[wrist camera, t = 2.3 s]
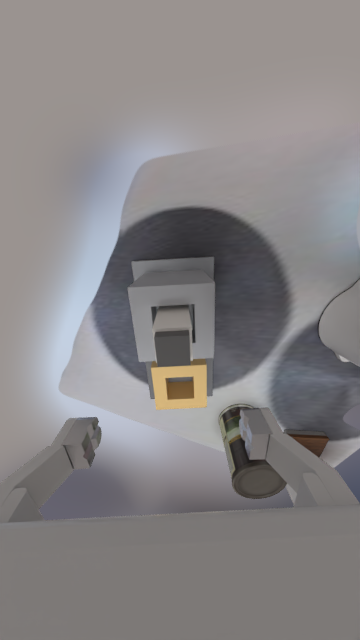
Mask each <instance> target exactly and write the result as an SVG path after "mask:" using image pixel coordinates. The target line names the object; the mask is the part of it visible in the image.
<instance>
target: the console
mask: <svg viewBox="0 0 360 640" xmlns="http://www.w3.org/2000/svg"><path fill="white" fill-rule="evenodd" d="M131 264H132V271H133V278H134V282H133V283H132V284H131V285H130V286H129V287H128V294H129V301H130V307H131V313H132V320H133V326H134V332H135V339H136V345H137V352H138V358H139V362H146V369H147V376H148V383H149V390H150V397H151V399H155V403H156V410H161V409H181V408H201V407H207V396H212V388H213V358H214V326H215V282H214V257H213V256H207V257H189V258H172V259H154V260H137V261H132V262H131ZM171 305H188V308H189V314H190V320H191V325H192V349H193V361H190V362H191V365H189V366H170V367H157V363H156V358H155V350H154V342H153V333H152V328H153V324H154V321H155V318H156V314H157V311H158V308H159V306H171Z"/></svg>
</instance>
